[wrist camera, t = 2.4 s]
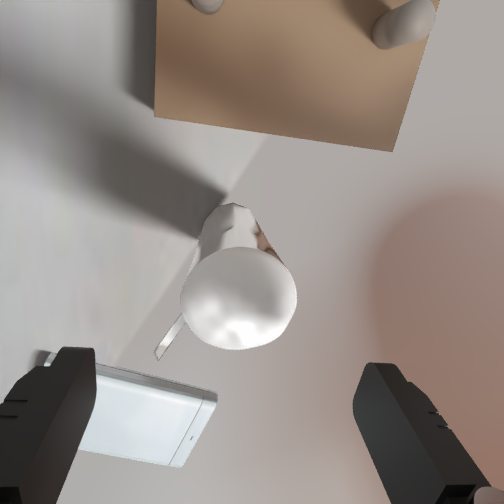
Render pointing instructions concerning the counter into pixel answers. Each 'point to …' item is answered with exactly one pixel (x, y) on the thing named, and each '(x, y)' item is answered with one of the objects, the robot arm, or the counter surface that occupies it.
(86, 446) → the hard drive
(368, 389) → the robot arm
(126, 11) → the counter surface
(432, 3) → the peg plinth
